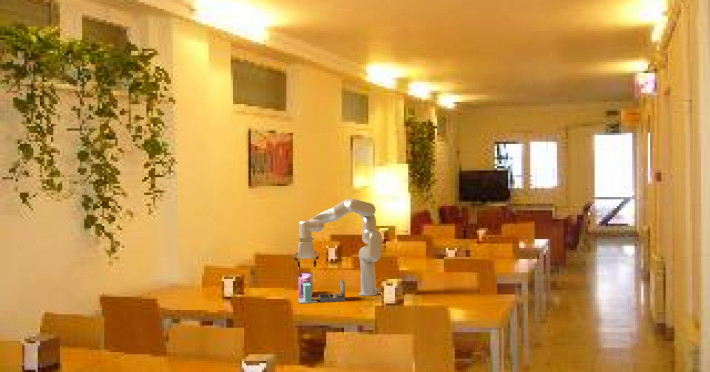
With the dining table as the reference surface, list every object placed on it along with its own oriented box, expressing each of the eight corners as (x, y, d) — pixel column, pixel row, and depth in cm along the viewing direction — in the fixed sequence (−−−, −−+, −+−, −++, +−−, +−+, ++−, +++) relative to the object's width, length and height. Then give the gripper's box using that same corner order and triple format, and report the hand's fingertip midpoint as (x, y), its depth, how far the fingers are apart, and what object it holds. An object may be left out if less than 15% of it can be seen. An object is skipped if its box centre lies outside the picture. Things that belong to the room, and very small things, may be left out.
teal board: (309, 298, 519) (309, 282, 519) (311, 301, 507) (311, 285, 507) (303, 298, 518) (303, 283, 518) (305, 301, 506) (304, 285, 506)
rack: (342, 297, 523) (341, 278, 523) (345, 301, 508) (344, 282, 508) (318, 298, 521) (317, 279, 521) (320, 302, 506) (319, 283, 506)
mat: (315, 298, 521) (315, 297, 521) (317, 302, 505) (317, 301, 505) (297, 299, 520) (297, 298, 520) (299, 303, 504) (299, 302, 504)
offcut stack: (339, 298, 522) (339, 292, 521) (343, 301, 510) (343, 295, 510) (333, 298, 521) (332, 293, 520) (337, 301, 509) (337, 296, 509)
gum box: (310, 298, 525) (310, 277, 524) (298, 298, 525) (297, 277, 525) (313, 292, 549) (312, 272, 548) (301, 292, 549) (300, 272, 548)
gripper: (318, 239, 517) (320, 265, 517) (291, 240, 514) (292, 267, 515) (320, 240, 509) (321, 267, 510) (292, 241, 507) (293, 269, 507)
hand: (307, 267), depth 512 cm, fingers open, 9 cm apart
